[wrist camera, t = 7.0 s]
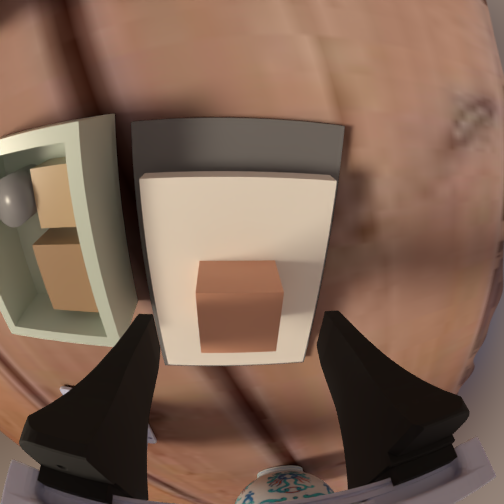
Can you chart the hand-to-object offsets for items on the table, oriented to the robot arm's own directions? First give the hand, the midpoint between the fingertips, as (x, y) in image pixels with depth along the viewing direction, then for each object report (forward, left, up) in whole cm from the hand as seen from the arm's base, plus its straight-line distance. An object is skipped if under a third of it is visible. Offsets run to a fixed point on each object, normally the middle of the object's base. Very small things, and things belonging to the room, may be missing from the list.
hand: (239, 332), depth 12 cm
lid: (0, 0, -5) cm, 5 cm away
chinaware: (-36, -7, -6) cm, 37 cm away
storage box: (+3, +10, -5) cm, 12 cm away
